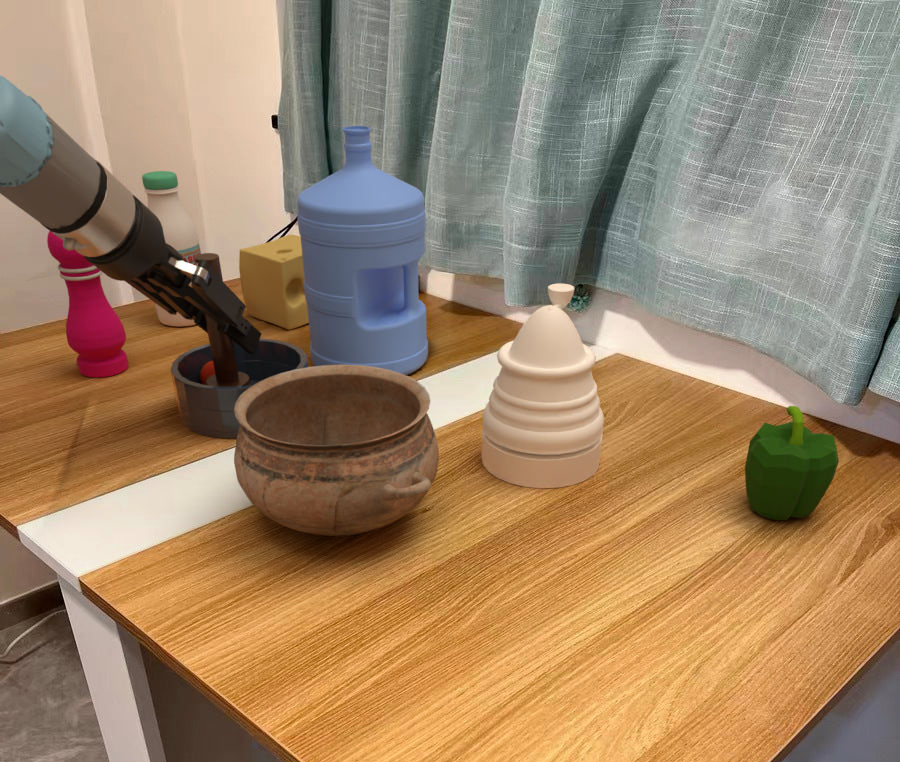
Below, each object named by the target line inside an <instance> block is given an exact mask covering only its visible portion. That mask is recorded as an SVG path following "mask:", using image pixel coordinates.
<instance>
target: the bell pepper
mask: <svg viewBox="0 0 900 762" xmlns="http://www.w3.org/2000/svg"><path fill="white" fill-rule="evenodd" d="M786 413H787V415H788V416H790V417H791V418H792V421H791V422H785V423H782V424H778V425H775V424H772V423H769V422H764V423H763V424H762V425H761V426H760V428H759V429H758V430H757V432H755V434H754V435H753V437H752V438H751V439H750V441H749V444H748V449H747V453H746V460H745V464H744V475H745V476H744V477H745V478H744V479H745V481H744V482H745V490H746V497H747V501H748V503H749V506H750V508H751V510H752V511H754V512H755V513H756V514H758V516H761V517H762V518H766V519H769V520H773V521H787V520H788V519H789V518H790V517H792V518H796V519H799V518H800V519H801V518H807V517H809V516H810V515H811V514H813V513H814V511H815V510H816V508H817V507H818V505H819V503H820V502H821V501H822V499H823V497H824V496H825V494H826V492H827V491H828V489H829V487H830V486H831V483H832V482H833V480H834V478H835V475H836V471H837V468H838V465H839V462H840V460H839V454H838V448H837V445H836V439H835V436H834V435H833V434H827V433H822V432H819V433H818V432H817V433H814V432H812V431H811V429H810V428H808V427H807V426H805V419H804V414H803V412H802V410H801V408H800V407H798V406H796V405H789V406H788V407H787V408H786Z"/></svg>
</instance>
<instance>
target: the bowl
mask: <svg viewBox="0 0 900 762" xmlns="http://www.w3.org/2000/svg"><path fill="white" fill-rule="evenodd" d="M234 351H235V357H236V364H237V370H238V372H243V373H245V374H247V375H248V376H249V379H250V385H246V386H229V387H218V386H210V385H202V383H201V380H200V372H201V370H202V368H203V366H204V365H205V364H206V363H208V362H210V361H213V359H212V354H211V348H210V342H209V343H206V344H203V345H198V346H196V347H194V348H191V349H190V348H189V350H187V351H185V352H183V353H182V354H179V355H178V356H177V357H176V358H175V359H174V361H172V363H171V366H170V373H171V375H170V376H171V380H172V386H173V390H174V395H175V401H176V405H177V410H178V411H177V412H178V414H179V416H180V420H181V423H182V424H183V425H184V426H185V428H187V429H189V430H190V431H192V432H194V433H196V434H200V435H202V436H206V437H210V438H216V439H230V440H231V439H232V440H233V439H234V440H237V436H238V430H239V427H240V423H239V422H238V420H237V419H236V417H235V413H234V408H235V403H236V401H237V400H238V398H239V397H240V395H241V394H242V393H244V392H245V391H246V390H247V389H248V388H250V387H251V386H253V385H254V384H256V383H258V382H260V381H262V380H264V379H266V378H269V377H272V376H274V375H277V374H280V373H284V372H288V371H291V370H296V369H301V368H307V367H309V361H308V355H307V353H306V352H305V351H304V350H303V349H302V348H301V347H298V346H297V345H295V344H293V343H290V342H287V341H283V340H278V339H271V338H261V337H260V339H259V342H258V345H257V347H256V350H255V353H254V355H253V354H249V353H247V352H246V351H245V350H244V349H243V348H241V347H240V346H239V345H238V344H237V343H235V342H234Z"/></svg>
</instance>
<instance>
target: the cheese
mask: <svg viewBox="0 0 900 762" xmlns="http://www.w3.org/2000/svg"><path fill="white" fill-rule="evenodd" d="M238 261H239V262H238V263H239V264H238V268H239V270H238V271H239V278H240V285H241V291H242V297H243V301H244V304H245V306H246V307H245V309H246V311H247V314H248V315H249V316H250V317H253V318H255V319H258V320H260V321H263V322H267V323H269V324H272V325H275V326H277V327H280V328H283V329H286V330H287V331H291V330H293V329H296V328H299V327H302V326H306V325H307V324H309V319H308V308H307V302H306V298H305V290H304V280H305V278H304V267H303V257H302V247H301V236H300V235H296V234H287V235H285V236H282V237H279V238H277V239H274V240H271V241H268V242H264V243H261V244H257V245H253V246H248V247H244V248H240V249H239V260H238Z"/></svg>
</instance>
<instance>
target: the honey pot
mask: <svg viewBox="0 0 900 762" xmlns="http://www.w3.org/2000/svg"><path fill="white" fill-rule="evenodd" d="M547 293H548V294H547V295H548V298H549V300H550V302H551V303H552V304H548V305H543V306H541V307H539V308H537V310H535V311H534V312H533V313H532V314H530V316H529V317H528V318H527V319H526V320H525V322H524V323H523V325H522V326H521V327H520V329H519V331H518V333H517V334H516V336H515V338H514V339H513V340H511V341H509V342H506V343H504V344H503V345H502V346H501V347H500V348H499V350H498V351H497V354H496V358H497V363H498V364H499V365H500V366H501V368H500V371H499V374H498V375H497V376H496V378H494V381H493V384H492V387H493V388H492V390H491V393H490V395H489V396H488V402H487V403H486V405H485V407H484V409H483V411H482V423H481V425H482V430H481V462H482V465H483V467H484V468H485V470H486V471H487V472H488V473H489V474H491V475H492V476H494V477H495V478H497V479H499V480H501V481H504V482H506V483H509V484H512V485H516V486H520V487H523V488H524V487H525V488H526V487H527V488H534V489H557V488H564V487H571V486H574V485H576V484H580V483H583V482H585V481H586V480H588V479H590V478H592V477H593V476H594V475H595V474H596V472H597V471H598V470H599V467H600V463H601V455H602V445H603V437H604V436H603V433H604V424H605V416H604V412H603V410H602V408H601V406H600V405H601V400H600V398H599V395H598V390H599V389H598V385H597V382H596V381H595V379H594V377H593V373H592V368H593V367H594V366H595V364H596V360H597V356H596V354H595V352H594V350H593V349H592V348H591V347H590V346H588V345H587V344H584V343H583V342H582V341H583V340H582V339H581V336H580V334H579V332H578V330H577V327H576V326H575V324H574V323H573V321H572V320H571V318H570V316H569V315H568V314H567V313H566V311H564V310H563V309H564V308H565V307H566V306H567V305H569V303H570V302H571V301H572V299H573V297H574V293H575V287H574V285H572V284H568V283H553V284H552V283H551V284H550V285H548V286H547Z"/></svg>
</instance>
